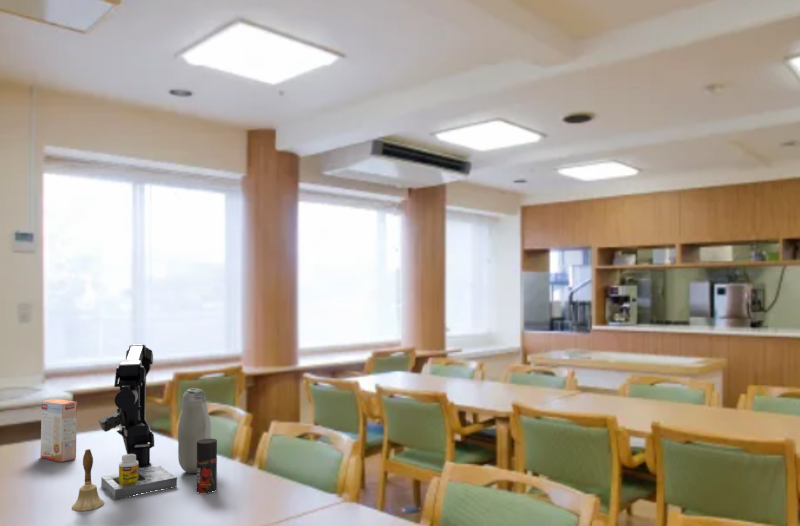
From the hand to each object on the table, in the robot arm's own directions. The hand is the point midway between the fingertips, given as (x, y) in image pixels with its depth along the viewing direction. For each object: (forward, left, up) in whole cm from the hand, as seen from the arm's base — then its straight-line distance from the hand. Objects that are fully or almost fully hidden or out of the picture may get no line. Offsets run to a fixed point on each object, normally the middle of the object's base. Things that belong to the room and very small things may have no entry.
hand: (129, 453), depth 191 cm
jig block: (-3, 0, -11) cm, 11 cm away
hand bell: (+13, +8, -11) cm, 19 cm away
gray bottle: (-22, -4, -11) cm, 25 cm away
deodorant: (-18, +17, -11) cm, 27 cm away
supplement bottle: (0, 0, -11) cm, 11 cm away
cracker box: (+10, -53, -11) cm, 55 cm away
